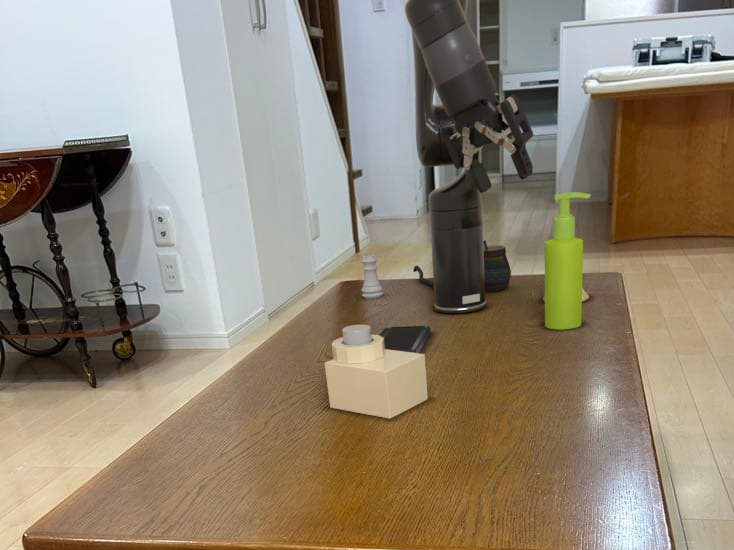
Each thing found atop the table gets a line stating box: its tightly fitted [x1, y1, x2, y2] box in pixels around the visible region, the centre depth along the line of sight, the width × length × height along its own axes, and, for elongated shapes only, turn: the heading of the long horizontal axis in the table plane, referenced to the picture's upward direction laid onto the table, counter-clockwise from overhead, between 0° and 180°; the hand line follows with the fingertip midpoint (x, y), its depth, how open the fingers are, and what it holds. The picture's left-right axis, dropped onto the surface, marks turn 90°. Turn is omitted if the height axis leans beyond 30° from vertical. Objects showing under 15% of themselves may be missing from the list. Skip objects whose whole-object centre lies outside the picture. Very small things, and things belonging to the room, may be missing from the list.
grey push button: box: [341, 324, 372, 346], centre depth 104 cm, size 4×4×2 cm
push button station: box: [324, 333, 429, 419], centre depth 105 cm, size 11×8×8 cm
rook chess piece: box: [360, 253, 384, 300], centre depth 165 cm, size 4×4×8 cm
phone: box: [378, 325, 431, 354], centre depth 131 cm, size 8×1×15 cm
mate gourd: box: [483, 239, 512, 293], centre depth 161 cm, size 7×8×10 cm
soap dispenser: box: [544, 191, 592, 331], centre depth 130 cm, size 6×7×20 cm
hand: (506, 183), depth 120 cm, fingers open, 8 cm apart
